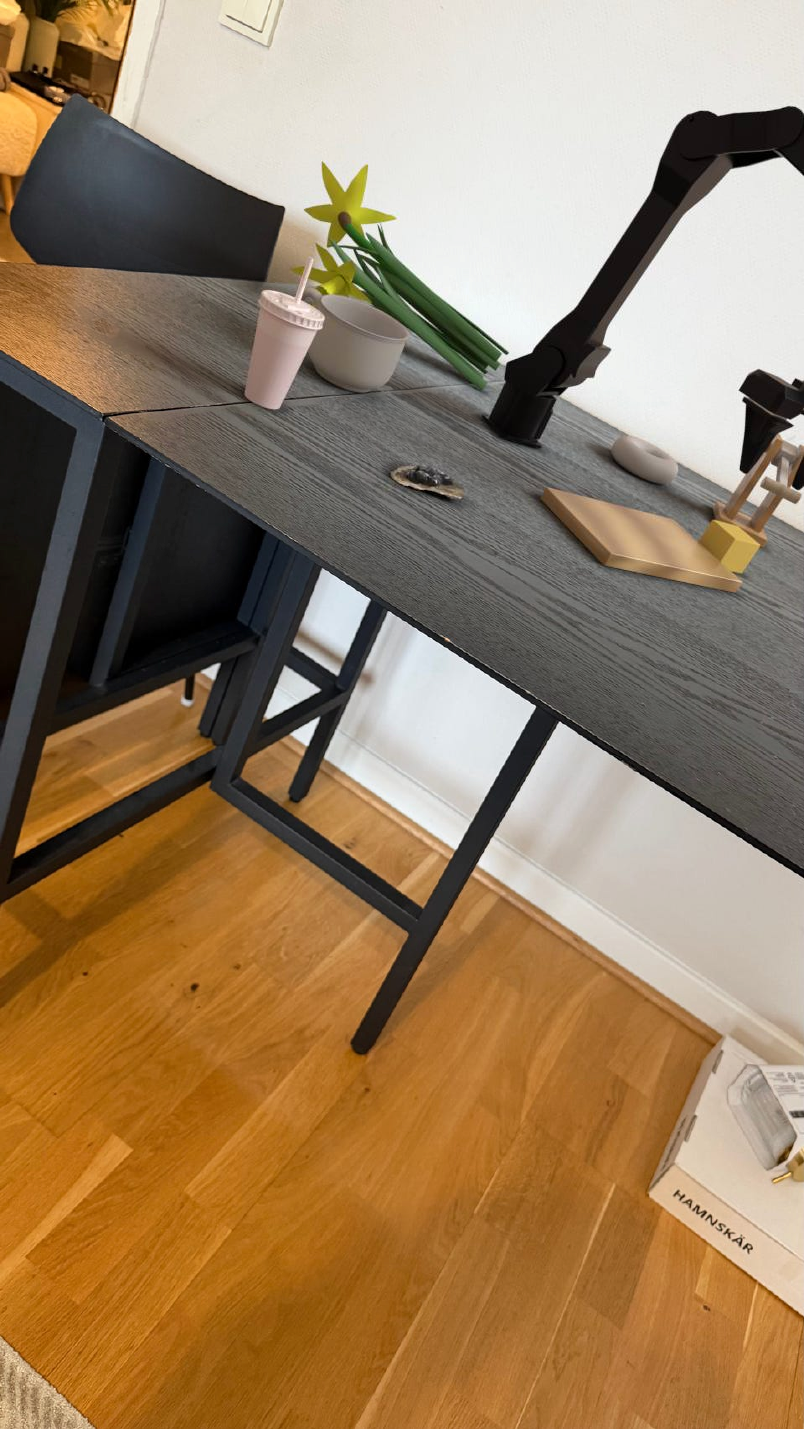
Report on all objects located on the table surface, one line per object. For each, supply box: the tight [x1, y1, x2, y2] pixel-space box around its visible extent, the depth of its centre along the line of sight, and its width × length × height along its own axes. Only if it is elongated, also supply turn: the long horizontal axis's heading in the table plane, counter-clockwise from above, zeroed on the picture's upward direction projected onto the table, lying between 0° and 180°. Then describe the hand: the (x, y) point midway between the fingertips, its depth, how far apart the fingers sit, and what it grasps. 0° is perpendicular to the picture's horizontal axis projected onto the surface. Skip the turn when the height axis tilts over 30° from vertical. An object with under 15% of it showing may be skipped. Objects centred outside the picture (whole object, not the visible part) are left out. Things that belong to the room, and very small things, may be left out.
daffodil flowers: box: [289, 161, 510, 392], centre depth 132 cm, size 17×15×35 cm
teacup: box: [301, 287, 410, 394], centre depth 110 cm, size 14×11×8 cm
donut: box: [611, 435, 679, 485], centre depth 134 cm, size 10×4×10 cm
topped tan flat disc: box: [390, 464, 466, 501], centre depth 93 cm, size 7×8×2 cm
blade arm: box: [759, 439, 803, 505], centre depth 122 cm, size 11×5×2 cm, turn 167°
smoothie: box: [244, 256, 325, 410], centre depth 91 cm, size 6×6×14 cm
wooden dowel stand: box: [712, 433, 804, 549], centre depth 128 cm, size 8×7×13 cm
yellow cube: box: [698, 519, 761, 574], centre depth 113 cm, size 4×4×4 cm
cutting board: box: [540, 486, 743, 594], centre depth 106 cm, size 20×14×2 cm
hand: (769, 480), depth 108 cm, fingers open, 9 cm apart
